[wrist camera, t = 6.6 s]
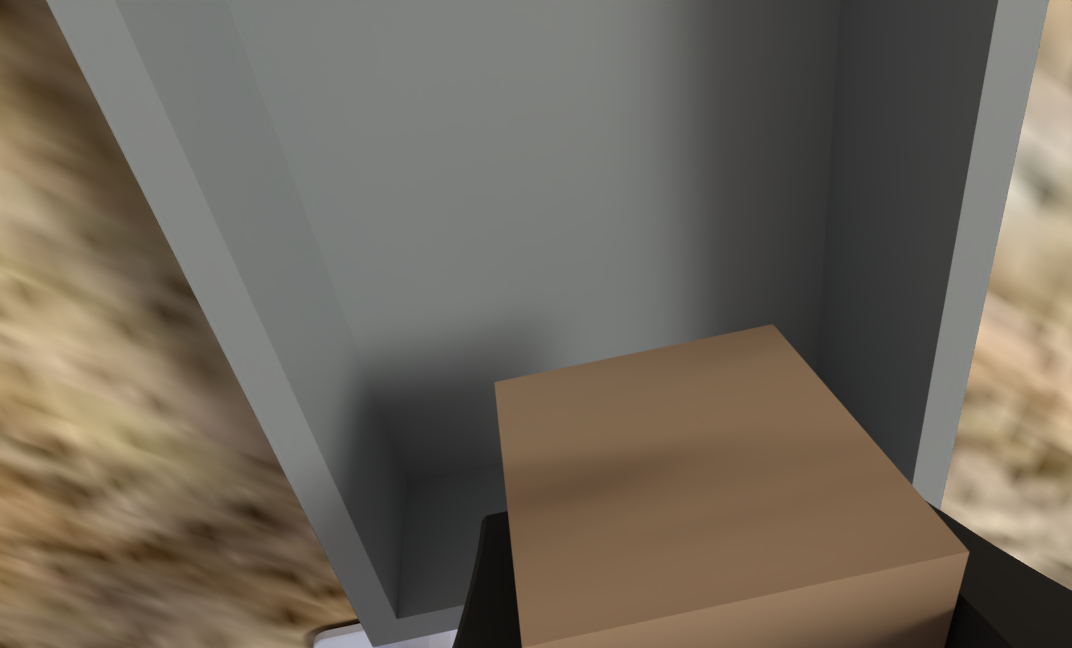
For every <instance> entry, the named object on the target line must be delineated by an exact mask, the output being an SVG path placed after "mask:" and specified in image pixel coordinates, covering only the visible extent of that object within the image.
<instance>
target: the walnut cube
mask: <svg viewBox="0 0 1072 648" xmlns="http://www.w3.org/2000/svg"><path fill="white" fill-rule="evenodd" d="M494 384H495V393H496V403H497V412H498V422H499V431H500V441H501V451H502V460H503V470H504V479H505V489H506V498H507V508H508V517H509V527H510V537H511V546H512V556H513V565H514V575H515V584H516V594H517V604H518V613H519V623H520V632H521V642H522V648H944V647H945V643H946V639H947V635H948V631H949V628H950V624H951V620H952V616H953V612H954V609H955V605H956V601H957V597H958V593H959V590H960V586H961V582H962V578H963V574H964V570H965V567H966V563H967V559H968V555H969V551H968V550H967V548H966V547H965V546H964V545H963V544H962V543H961V541H960V540H959V539H958V538H957V537H956V536H955V534H954V533H953V532H952V531H951V530H950V529H949V528H948V526H947V525H946V524H945V523H944V522H943V521H942V519H941V518H940V517H939V516H938V515H937V514H936V512H935V511H934V510H933V509H932V508H931V507H930V506H929V504H928V503H927V502H926V501H925V500H924V499H923V497H922V496H921V495H920V494H919V493H918V492H917V490H916V489H915V488H914V487H913V486H912V485H911V483H910V482H909V481H908V480H907V479H906V478H905V477H904V475H903V474H902V473H901V472H900V471H899V470H898V468H897V467H896V466H895V465H894V464H893V463H892V461H891V460H890V459H889V458H888V457H887V456H886V455H885V453H884V452H883V451H882V450H881V449H880V448H879V446H878V445H877V444H876V443H875V442H874V441H873V439H872V438H871V437H870V436H869V435H868V434H867V433H866V431H865V430H864V429H863V428H862V427H861V426H860V424H859V423H858V422H857V421H856V420H855V419H854V417H853V416H852V415H851V414H850V413H849V412H848V411H847V409H846V408H845V407H844V406H843V405H842V404H841V402H840V401H839V400H838V399H837V398H836V397H835V395H834V394H833V393H832V392H831V391H830V390H829V389H828V387H827V386H826V385H825V384H824V383H823V382H822V380H821V379H820V378H819V377H818V376H817V375H816V373H815V372H814V371H813V370H812V369H811V368H810V367H809V365H808V364H807V363H806V362H805V361H804V360H803V358H802V357H801V356H800V355H799V354H798V353H797V351H796V350H795V349H794V348H793V347H792V346H791V345H790V343H789V342H788V341H787V340H786V339H785V338H784V336H783V335H782V334H781V333H780V332H779V331H778V329H777V328H776V327H775V326H774V325H773V324H771V325H767V326H762V327H757V328H752V329H747V330H743V331H738V332H733V333H728V334H723V335H719V336H714V337H709V338H704V339H700V340H695V341H690V342H685V343H680V344H676V345H671V346H666V347H661V348H656V349H652V350H647V351H642V352H637V353H632V354H628V355H623V356H618V357H613V358H608V359H604V360H599V361H594V362H589V363H585V364H580V365H575V366H570V367H565V368H561V369H556V370H551V371H546V372H541V373H537V374H532V375H527V376H522V377H517V378H513V379H508V380H503V381H498V382H494Z"/></svg>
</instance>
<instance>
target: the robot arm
mask: <svg viewBox="0 0 1072 648" xmlns="http://www.w3.org/2000/svg"><path fill="white" fill-rule="evenodd" d="M925 501H926V500H925ZM926 502H927V501H926ZM927 503H928V504H929V506H930V507H931V508H932V509H933V510H934V511H935V512H936V514H937V515H938V516H939V517H940V518H941V519H942V521H943V522H944V523H945V524H946V525H947V526H948V528H949V529H950V530H951V531H952V532H953V533H954V534H955V536H956V537H957V538H958V539H959V540H960V541H961V543H962V544H963V545H964V546H965V547H966V548H967V550H968V551H969V555H968V559H967V563H966V567H965V570H964V574H963V578H962V582H961V586H960V590H959V593H958V597H957V601H956V605H955V609H954V612H953V616H952V620H951V624H950V628H949V631H948V635H947V639H946V643H945V647H944V648H1072V591H1071V590H1070V589H1068V588H1066V587H1064V586H1062V585H1060V584H1059V583H1057V582H1055V581H1053V580H1052V579H1050V578H1048V577H1046V576H1044V575H1043V574H1041V573H1039V572H1038V571H1036V570H1034V569H1032V568H1031V567H1029V566H1027V565H1026V564H1024V563H1023V562H1021V561H1019V560H1018V559H1016V558H1014V557H1013V556H1011V555H1009V554H1008V553H1006V552H1004V551H1003V550H1001V549H999V548H998V547H996V546H994V545H993V544H991V543H990V542H988V541H986V540H985V539H983V538H982V537H980V536H978V535H977V534H975V533H974V532H972V531H971V530H969V529H968V528H966V527H965V526H963V525H962V524H960V523H959V522H957V521H956V520H954V519H953V518H951V517H950V516H948V515H947V514H945V513H944V512H942V511H940V510H939V509H937V508H936V507H934V506H933V505H932V504H930V503H929V502H927ZM313 648H522V642H521V632H520V623H519V613H518V604H517V594H516V584H515V575H514V565H513V556H512V546H511V537H510V527H509V517H508V511H505V512H500V513H495V514H491V515H486V517H485V518H484V519H483V520H482V521H481V530H480V538H479V544H478V550H477V555H476V560H475V565H474V569H473V574H472V578H471V582H470V587H469V591H468V594H467V598H466V602H465V605H464V609H463V612H462V616H461V620H460V623H459V627H458V629H457V630H452V631H447V632H443V633H438V634H433V635H429V636H424V637H419V638H415V639H410V640H405V641H401V642H396V643H391V644H387V645H382V646H378V647H372V645H371V643H370V641H369V639H368V637H367V635H366V633H365V631H364V629H363V627H362V625H361V623H359V624H355V625H350V626H345V627H341V628H336V629H331V630H327V631H324V632H321V633H319V634H318V635H317V636H316V638H315V641H314V646H313Z"/></svg>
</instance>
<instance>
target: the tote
mask: <svg viewBox="0 0 1072 648" xmlns="http://www.w3.org/2000/svg"><path fill="white" fill-rule="evenodd" d="M46 1H47V3H48V5H49V7H50V9H51V11H52V13H53V15H54V17H55V19H56V21H57V23H58V25H59V27H60V29H61V31H62V33H63V35H64V37H65V39H66V41H67V43H68V45H69V47H70V49H71V51H72V53H73V55H74V57H75V59H76V61H77V63H78V65H79V67H80V69H81V71H82V72H83V74H84V76H85V78H86V80H87V82H88V84H89V86H90V88H91V90H92V92H93V94H94V96H95V98H96V100H97V102H98V104H99V106H100V108H101V110H102V112H103V114H104V116H105V118H106V120H107V122H108V124H109V126H110V128H111V130H112V132H113V134H114V136H115V138H116V140H117V142H118V144H119V146H120V148H121V150H122V152H123V154H124V156H125V158H126V160H127V162H128V164H129V166H130V168H131V170H132V172H133V174H134V176H135V177H136V179H137V181H138V183H139V185H140V187H141V189H142V191H143V193H144V195H145V197H146V199H147V201H148V203H149V205H150V207H151V209H152V211H153V213H154V215H155V217H156V219H157V221H158V223H159V225H160V227H161V229H162V231H163V233H164V235H165V237H166V239H167V241H168V243H169V245H170V247H171V249H172V251H173V253H174V255H175V257H176V259H177V261H178V263H179V265H180V267H181V269H182V271H183V273H184V275H185V277H186V279H187V281H188V283H189V284H190V286H191V288H192V290H193V292H194V294H195V296H196V298H197V300H198V302H199V304H200V306H201V308H202V310H203V312H204V314H205V316H206V318H207V320H208V322H209V324H210V326H211V328H212V330H213V332H214V334H215V336H216V338H217V340H218V342H219V344H220V346H221V348H222V350H223V352H224V354H225V356H226V358H227V360H228V362H229V364H230V366H231V368H232V370H233V372H234V374H235V376H236V378H237V380H238V382H239V384H240V386H241V388H242V389H243V391H244V393H245V395H246V397H247V399H248V401H249V403H250V405H251V407H252V409H253V411H254V413H255V415H256V417H257V419H258V421H259V423H260V425H261V427H262V429H263V431H264V433H265V435H266V437H267V439H268V441H269V443H270V445H271V447H272V449H273V451H274V453H275V455H276V457H277V459H278V461H279V463H280V465H281V467H282V469H283V471H284V473H285V475H286V477H287V479H288V481H289V483H290V485H291V487H292V489H293V491H294V493H295V494H296V496H297V498H298V500H299V502H300V504H301V506H302V508H303V510H304V512H305V514H306V516H307V518H308V520H309V522H310V524H311V526H312V528H313V530H314V532H315V534H316V536H317V538H318V540H319V542H320V544H321V546H322V548H323V550H324V552H325V554H326V556H327V558H328V560H329V562H330V564H331V566H332V568H333V570H334V572H335V574H336V576H337V578H338V580H339V582H340V584H341V586H342V588H343V590H344V592H345V594H346V596H347V598H348V600H349V601H350V603H351V605H352V607H353V609H354V611H355V613H356V615H357V617H358V619H359V621H360V623H361V625H362V627H363V629H364V631H365V633H366V635H367V637H368V639H369V641H370V643H371V645H372V647H378V646H382V645H387V644H391V643H396V642H401V641H405V640H410V639H415V638H419V637H424V636H429V635H433V634H438V633H443V632H447V631H452V630H457V629H458V627H459V623H460V620H461V616H462V612H463V609H464V605H465V602H466V598H467V594H468V591H469V587H470V582H471V578H472V574H473V569H474V565H475V560H476V555H477V550H478V544H479V538H480V530H481V521H482V520H483V519H484V518H485V517H486V515H491V514H495V513H500V512H505V511H508V508H507V498H506V489H505V479H504V470H503V460H502V451H501V441H500V431H499V422H498V412H497V403H496V393H495V384H494V382H498V381H503V380H508V379H513V378H517V377H522V376H527V375H532V374H537V373H541V372H546V371H551V370H556V369H561V368H565V367H570V366H575V365H580V364H585V363H589V362H594V361H599V360H604V359H608V358H613V357H618V356H623V355H628V354H632V353H637V352H642V351H647V350H652V349H656V348H661V347H666V346H671V345H676V344H680V343H685V342H690V341H695V340H700V339H704V338H709V337H714V336H719V335H723V334H728V333H733V332H738V331H743V330H747V329H752V328H757V327H762V326H767V325H771V324H773V325H774V326H775V327H776V328H777V329H778V331H779V332H780V333H781V334H782V335H783V336H784V338H785V339H786V340H787V341H788V342H789V343H790V345H791V346H792V347H793V348H794V349H795V350H796V351H797V353H798V354H799V355H800V356H801V357H802V358H803V360H804V361H805V362H806V363H807V364H808V365H809V367H810V368H811V369H812V370H813V371H814V372H815V373H816V375H817V376H818V377H819V378H820V379H821V380H822V382H823V383H824V384H825V385H826V386H827V387H828V389H829V390H830V391H831V392H832V393H833V394H834V395H835V397H836V398H837V399H838V400H839V401H840V402H841V404H842V405H843V406H844V407H845V408H846V409H847V411H848V412H849V413H850V414H851V415H852V416H853V417H854V419H855V420H856V421H857V422H858V423H859V424H860V426H861V427H862V428H863V429H864V430H865V431H866V433H867V434H868V435H869V436H870V437H871V438H872V439H873V441H874V442H875V443H876V444H877V445H878V446H879V448H880V449H881V450H882V451H883V452H884V453H885V455H886V456H887V457H888V458H889V459H890V460H891V461H892V463H893V464H894V465H895V466H896V467H897V468H898V470H899V471H900V472H901V473H902V474H903V475H904V477H905V478H906V479H907V480H908V481H909V482H910V483H911V485H912V486H913V487H914V488H915V489H916V490H917V492H918V493H919V494H920V495H921V496H922V497H923V499H924V500H926V501H927V502H929V503H930V504H932V505H933V506H934V507H936V508H937V509H939V510H940V508H941V503H942V498H943V494H944V489H945V484H946V480H947V475H948V470H949V466H950V461H951V456H952V452H953V447H954V442H955V438H956V433H957V428H958V424H959V419H960V414H961V410H962V405H963V400H964V395H965V391H966V386H967V381H968V377H969V372H970V367H971V363H972V358H973V353H974V349H975V344H976V339H977V335H978V330H979V325H980V321H981V316H982V311H983V307H984V302H985V297H986V292H987V288H988V283H989V278H990V274H991V269H992V264H993V260H994V255H995V250H996V246H997V241H998V236H999V232H1000V227H1001V222H1002V218H1003V213H1004V208H1005V204H1006V199H1007V194H1008V189H1009V185H1010V180H1011V175H1012V171H1013V166H1014V161H1015V157H1016V152H1017V147H1018V143H1019V138H1020V133H1021V129H1022V124H1023V119H1024V115H1025V110H1026V105H1027V101H1028V96H1029V91H1030V86H1031V82H1032V77H1033V72H1034V68H1035V63H1036V58H1037V54H1038V49H1039V44H1040V40H1041V35H1042V30H1043V26H1044V21H1045V16H1046V12H1047V7H1048V2H1049V0H46Z"/></svg>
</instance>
